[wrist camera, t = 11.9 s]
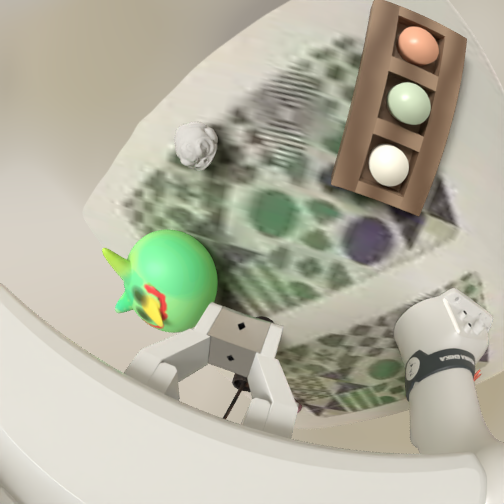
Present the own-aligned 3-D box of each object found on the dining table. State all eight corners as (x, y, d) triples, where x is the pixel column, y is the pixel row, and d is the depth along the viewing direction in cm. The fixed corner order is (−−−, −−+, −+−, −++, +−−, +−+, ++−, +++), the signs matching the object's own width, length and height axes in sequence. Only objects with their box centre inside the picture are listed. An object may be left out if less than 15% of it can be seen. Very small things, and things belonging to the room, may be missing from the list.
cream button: (408, 151, 28) (413, 155, 26) (396, 186, 30) (401, 191, 28) (373, 137, 28) (376, 140, 26) (362, 173, 31) (365, 178, 29)
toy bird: (220, 310, 53) (188, 367, 41) (148, 278, 55) (106, 324, 43) (238, 234, 43) (198, 290, 31) (149, 202, 45) (92, 241, 33)
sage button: (427, 94, 22) (434, 93, 20) (418, 129, 25) (424, 131, 23) (390, 78, 23) (395, 75, 21) (382, 114, 26) (385, 114, 24)
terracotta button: (434, 41, 19) (440, 37, 17) (429, 72, 22) (435, 70, 19) (398, 25, 20) (403, 20, 18) (393, 56, 22) (397, 53, 20)
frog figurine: (208, 171, 39) (185, 184, 33) (180, 136, 37) (153, 144, 32) (238, 147, 36) (218, 156, 30) (208, 110, 34) (183, 112, 29)
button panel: (453, 44, 19) (466, 38, 15) (410, 204, 33) (418, 216, 29) (370, 8, 21) (374, -3, 17) (331, 175, 34) (331, 184, 31)
